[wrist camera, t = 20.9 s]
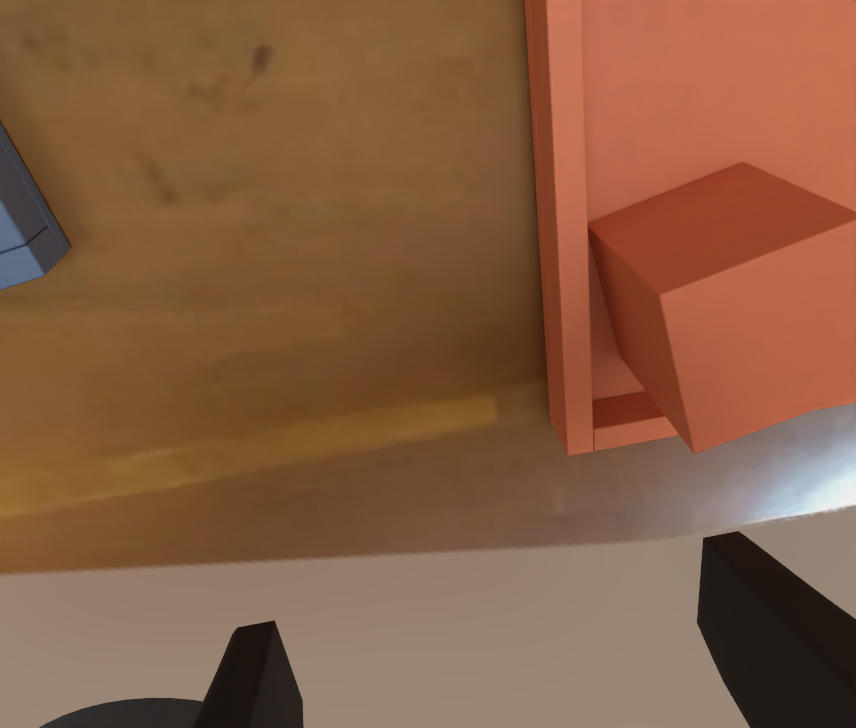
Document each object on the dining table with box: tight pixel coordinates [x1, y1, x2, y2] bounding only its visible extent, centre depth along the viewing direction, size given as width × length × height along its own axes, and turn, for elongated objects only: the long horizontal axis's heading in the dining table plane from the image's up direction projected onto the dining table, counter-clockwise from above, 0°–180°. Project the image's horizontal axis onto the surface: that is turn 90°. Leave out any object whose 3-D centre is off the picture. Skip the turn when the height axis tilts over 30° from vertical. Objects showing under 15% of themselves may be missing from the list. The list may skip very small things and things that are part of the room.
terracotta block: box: [588, 162, 856, 453], centre depth 18 cm, size 4×4×5 cm
